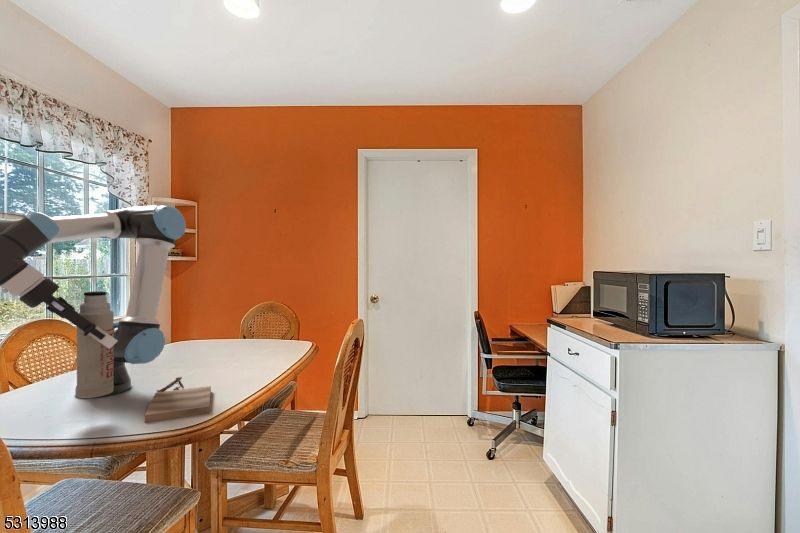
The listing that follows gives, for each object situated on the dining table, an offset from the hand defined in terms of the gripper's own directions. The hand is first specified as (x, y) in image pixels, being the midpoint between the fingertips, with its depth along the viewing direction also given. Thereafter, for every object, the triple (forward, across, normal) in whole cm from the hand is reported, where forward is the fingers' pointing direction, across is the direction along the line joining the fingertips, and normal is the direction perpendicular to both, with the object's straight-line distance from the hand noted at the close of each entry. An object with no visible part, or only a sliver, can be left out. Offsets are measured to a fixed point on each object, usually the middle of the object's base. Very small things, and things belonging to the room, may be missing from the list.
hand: (110, 342), depth 109 cm
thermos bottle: (+7, 0, -12) cm, 14 cm away
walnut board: (+27, +3, -3) cm, 28 cm away
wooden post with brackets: (+28, -13, -3) cm, 31 cm away
